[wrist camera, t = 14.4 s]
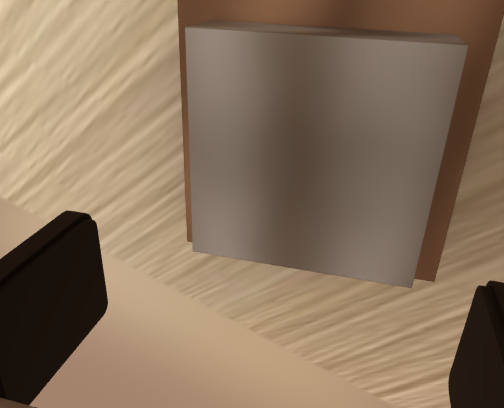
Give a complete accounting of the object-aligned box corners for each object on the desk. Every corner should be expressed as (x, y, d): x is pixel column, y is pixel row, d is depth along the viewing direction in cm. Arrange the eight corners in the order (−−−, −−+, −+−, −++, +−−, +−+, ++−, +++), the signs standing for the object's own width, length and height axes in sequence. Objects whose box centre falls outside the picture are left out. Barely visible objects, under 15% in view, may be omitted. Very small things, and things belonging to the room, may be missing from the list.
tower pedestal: (499, -8, 18) (531, -2, 14) (431, 264, 24) (440, 321, 20) (189, -21, 21) (145, -19, 17) (196, 228, 27) (165, 271, 23)
